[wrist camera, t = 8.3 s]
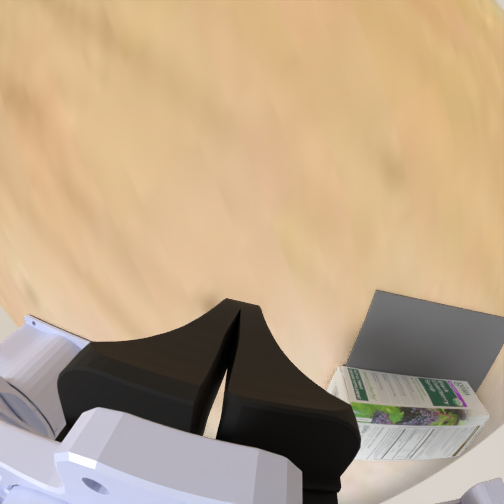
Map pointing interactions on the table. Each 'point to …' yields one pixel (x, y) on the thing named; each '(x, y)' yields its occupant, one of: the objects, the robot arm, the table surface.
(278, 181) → the table surface
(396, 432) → the syrup box
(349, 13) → the table surface
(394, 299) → the rubber mat
